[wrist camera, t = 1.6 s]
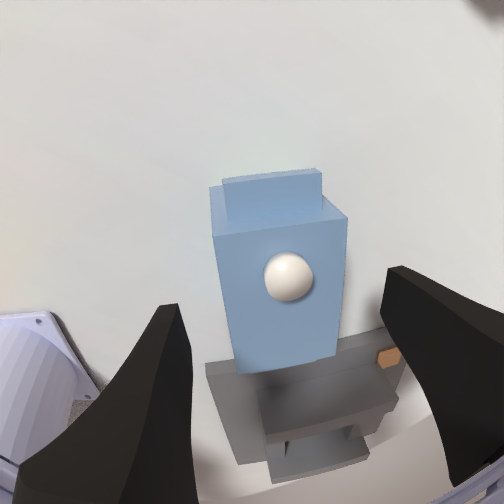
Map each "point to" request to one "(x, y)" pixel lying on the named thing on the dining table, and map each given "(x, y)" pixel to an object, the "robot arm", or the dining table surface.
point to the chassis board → (309, 407)
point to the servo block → (279, 267)
